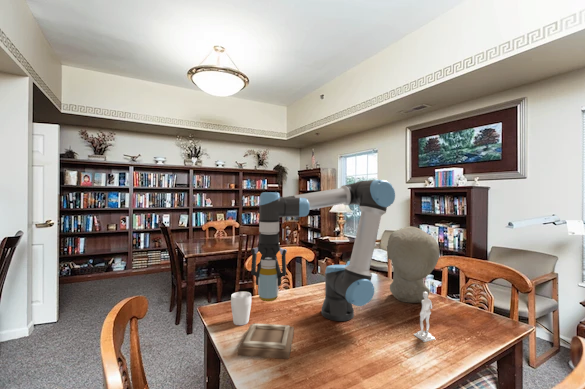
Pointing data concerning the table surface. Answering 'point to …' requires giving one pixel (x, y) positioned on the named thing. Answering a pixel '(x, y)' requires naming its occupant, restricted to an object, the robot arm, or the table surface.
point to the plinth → (267, 341)
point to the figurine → (425, 315)
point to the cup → (241, 307)
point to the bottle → (268, 280)
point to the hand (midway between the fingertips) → (268, 293)
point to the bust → (411, 262)
